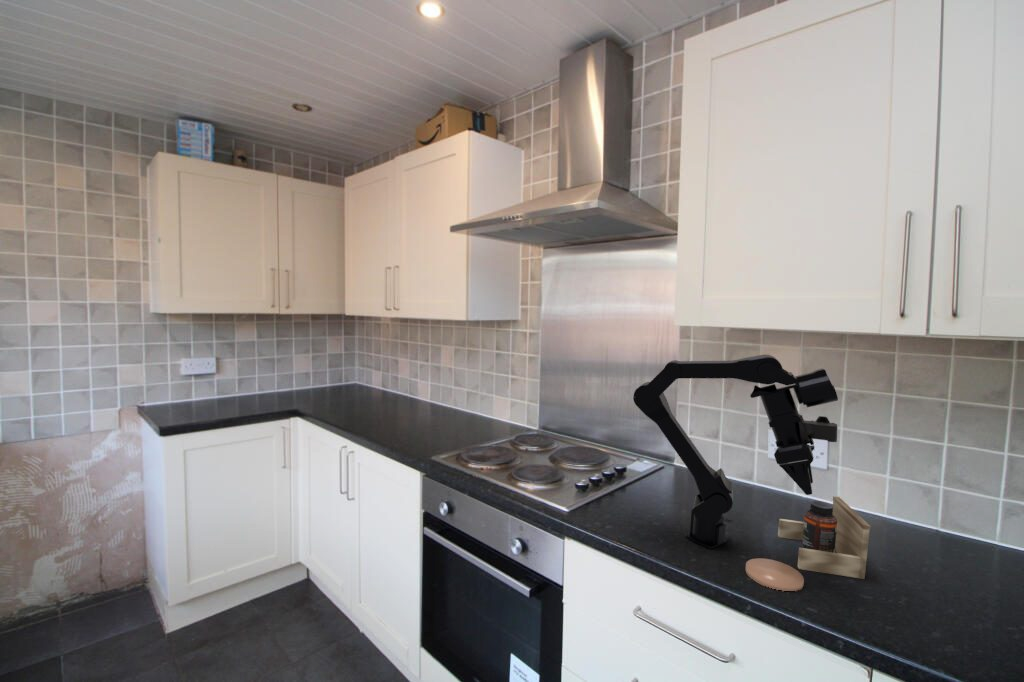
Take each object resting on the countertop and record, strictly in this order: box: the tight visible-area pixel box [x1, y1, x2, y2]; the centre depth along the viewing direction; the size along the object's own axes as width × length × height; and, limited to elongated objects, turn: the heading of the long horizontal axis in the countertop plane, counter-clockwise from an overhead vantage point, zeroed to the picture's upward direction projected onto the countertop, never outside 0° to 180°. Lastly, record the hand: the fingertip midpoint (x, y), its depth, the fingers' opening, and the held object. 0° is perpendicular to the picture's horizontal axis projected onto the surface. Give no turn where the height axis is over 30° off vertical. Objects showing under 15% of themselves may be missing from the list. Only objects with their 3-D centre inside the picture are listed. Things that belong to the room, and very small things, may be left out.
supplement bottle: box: [801, 500, 837, 553], centre depth 104 cm, size 6×6×11 cm
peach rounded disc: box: [745, 557, 805, 592], centre depth 95 cm, size 10×10×1 cm
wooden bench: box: [777, 496, 872, 580], centre depth 104 cm, size 12×15×11 cm
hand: (809, 488), depth 98 cm, fingers open, 9 cm apart
